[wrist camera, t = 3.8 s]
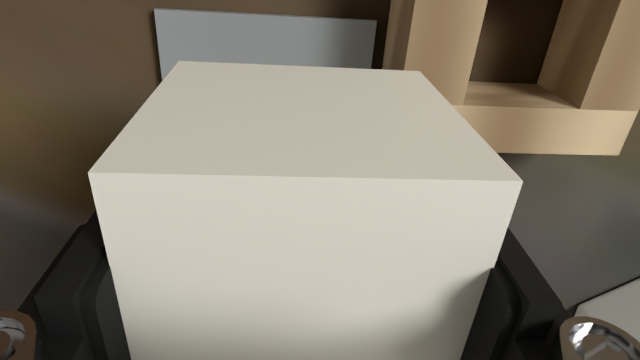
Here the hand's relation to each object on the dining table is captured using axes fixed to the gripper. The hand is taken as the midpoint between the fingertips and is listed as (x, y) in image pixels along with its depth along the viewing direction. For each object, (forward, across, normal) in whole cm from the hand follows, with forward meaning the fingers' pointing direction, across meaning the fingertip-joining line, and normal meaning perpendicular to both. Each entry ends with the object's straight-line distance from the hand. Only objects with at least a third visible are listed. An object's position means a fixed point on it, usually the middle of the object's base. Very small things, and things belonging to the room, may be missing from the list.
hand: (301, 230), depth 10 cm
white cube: (+3, 0, 0) cm, 3 cm away
